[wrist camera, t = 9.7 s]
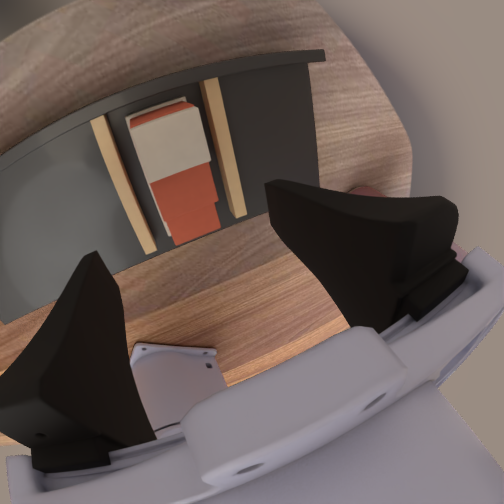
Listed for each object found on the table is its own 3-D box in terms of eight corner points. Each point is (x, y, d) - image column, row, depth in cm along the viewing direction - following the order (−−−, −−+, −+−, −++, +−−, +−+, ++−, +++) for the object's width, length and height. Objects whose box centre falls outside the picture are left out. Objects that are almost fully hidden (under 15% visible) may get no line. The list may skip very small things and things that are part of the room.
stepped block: (124, 115, 13) (123, 126, 10) (183, 95, 14) (201, 99, 11) (166, 231, 18) (179, 270, 15) (214, 212, 19) (237, 245, 16)
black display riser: (286, 51, 17) (324, 49, 13) (303, 181, 24) (335, 203, 20) (-57, 201, 11) (-84, 231, 7) (10, 304, 18) (0, 343, 14)
